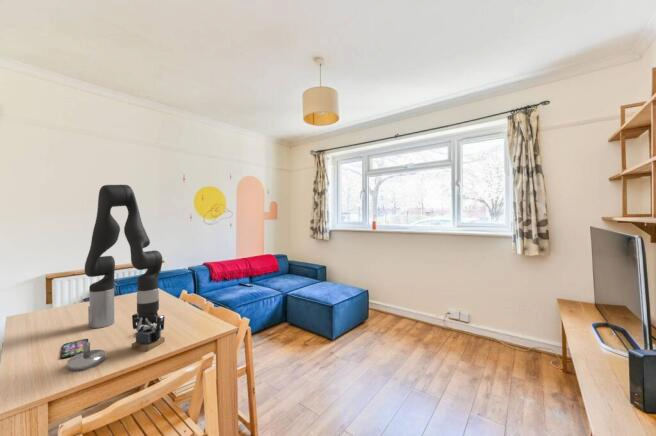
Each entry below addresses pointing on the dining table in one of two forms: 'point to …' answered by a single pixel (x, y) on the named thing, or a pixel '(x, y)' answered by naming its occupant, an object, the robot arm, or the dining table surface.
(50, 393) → the dining table surface
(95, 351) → the stand
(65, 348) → the smartphone
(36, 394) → the dining table surface
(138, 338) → the grey notched block
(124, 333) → the dining table surface
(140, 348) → the stand
